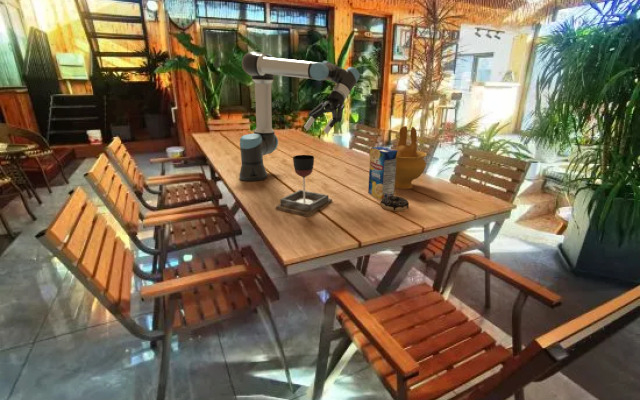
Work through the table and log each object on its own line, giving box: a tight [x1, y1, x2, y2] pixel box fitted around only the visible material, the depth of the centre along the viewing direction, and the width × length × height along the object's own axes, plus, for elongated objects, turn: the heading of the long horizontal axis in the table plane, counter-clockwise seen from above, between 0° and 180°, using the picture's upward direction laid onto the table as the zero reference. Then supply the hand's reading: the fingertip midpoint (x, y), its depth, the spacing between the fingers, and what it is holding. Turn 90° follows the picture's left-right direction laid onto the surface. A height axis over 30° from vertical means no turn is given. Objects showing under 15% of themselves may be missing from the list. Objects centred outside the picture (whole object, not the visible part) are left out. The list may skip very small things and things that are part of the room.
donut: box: [379, 195, 410, 212], centre depth 141 cm, size 11×12×4 cm
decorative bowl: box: [392, 125, 427, 190], centre depth 166 cm, size 21×21×30 cm
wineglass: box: [292, 154, 315, 205], centre depth 141 cm, size 8×9×20 cm
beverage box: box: [367, 146, 397, 200], centre depth 153 cm, size 7×11×22 cm, turn 26°
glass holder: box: [275, 189, 333, 218], centre depth 143 cm, size 16×20×4 cm
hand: (315, 130), depth 155 cm, fingers open, 13 cm apart
